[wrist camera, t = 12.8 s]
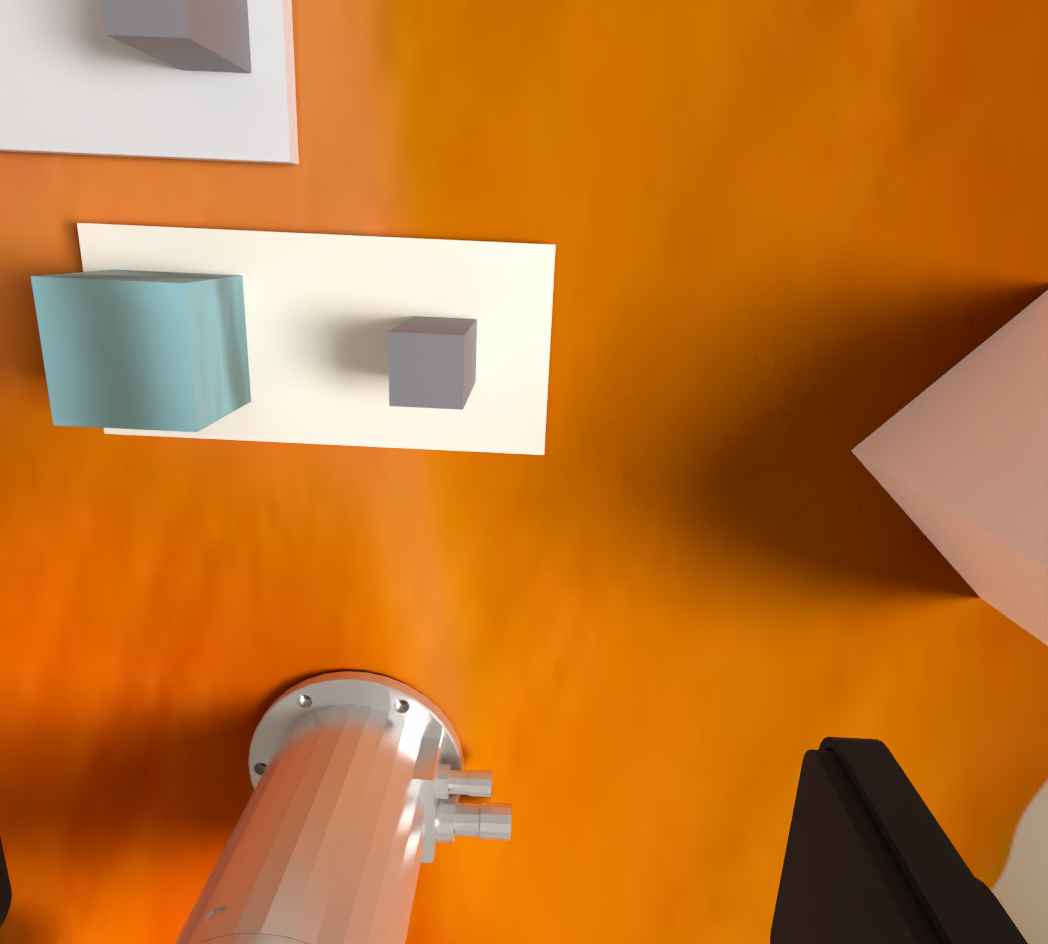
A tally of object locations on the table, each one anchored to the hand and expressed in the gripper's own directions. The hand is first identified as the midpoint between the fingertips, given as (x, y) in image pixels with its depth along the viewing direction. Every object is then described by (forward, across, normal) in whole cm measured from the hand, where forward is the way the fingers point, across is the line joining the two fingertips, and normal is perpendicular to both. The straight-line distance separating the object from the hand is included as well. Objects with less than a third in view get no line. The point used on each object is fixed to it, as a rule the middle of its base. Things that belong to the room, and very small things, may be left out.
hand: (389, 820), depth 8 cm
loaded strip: (+30, +9, -1) cm, 31 cm away
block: (+29, +16, -1) cm, 33 cm away
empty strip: (+30, +19, -14) cm, 38 cm away
